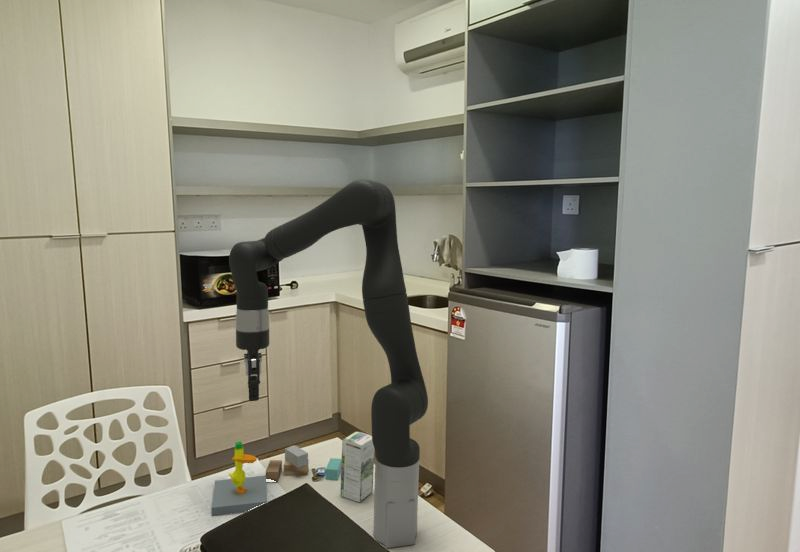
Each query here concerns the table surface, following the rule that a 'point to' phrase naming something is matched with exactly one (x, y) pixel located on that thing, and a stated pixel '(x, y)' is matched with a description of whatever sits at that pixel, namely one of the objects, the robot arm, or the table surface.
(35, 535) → the table surface
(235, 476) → the toy figure
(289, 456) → the grey brick
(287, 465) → the oak brick
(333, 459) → the teal brick
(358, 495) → the syrup box
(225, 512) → the slate stand
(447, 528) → the table surface
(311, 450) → the table surface
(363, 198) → the robot arm
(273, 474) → the walnut brick
